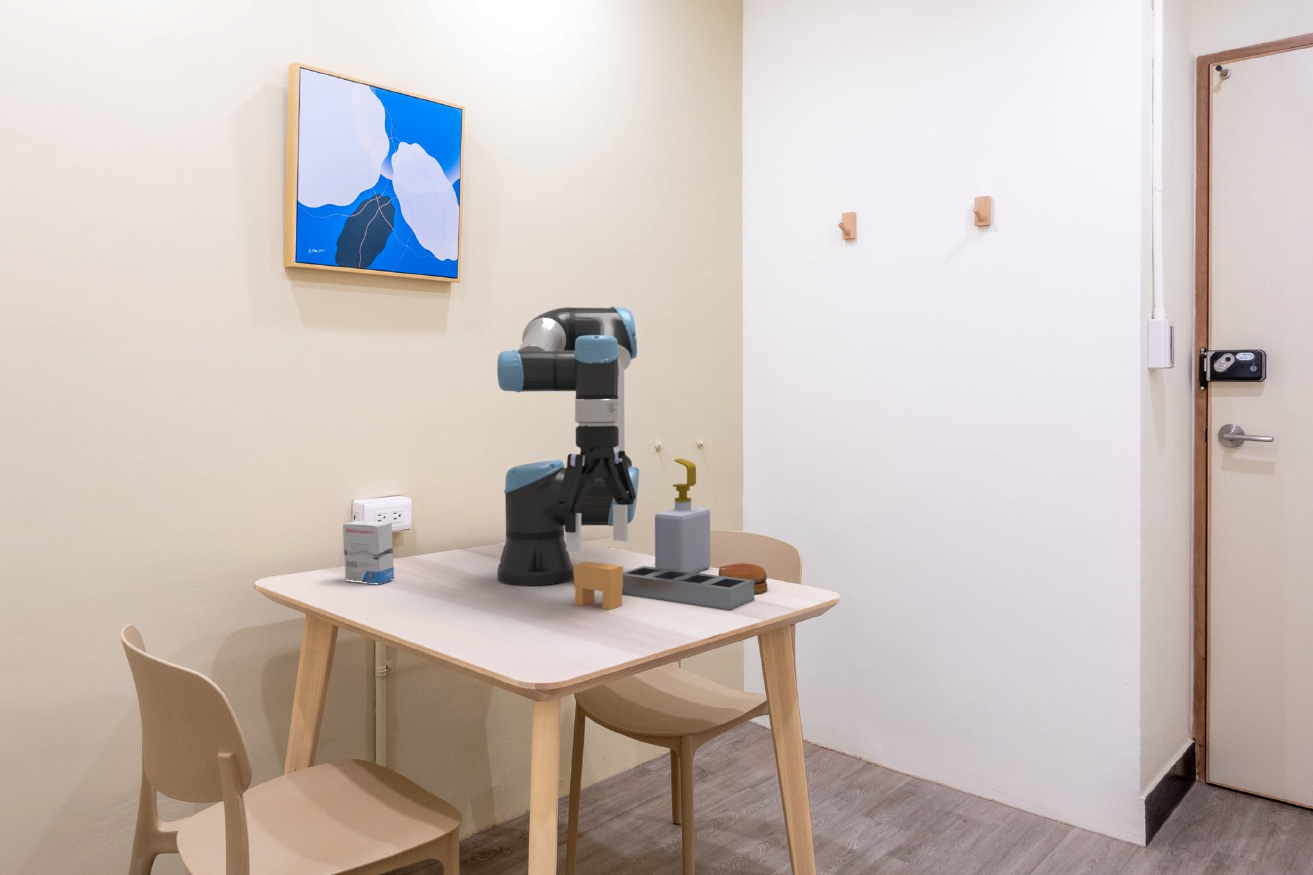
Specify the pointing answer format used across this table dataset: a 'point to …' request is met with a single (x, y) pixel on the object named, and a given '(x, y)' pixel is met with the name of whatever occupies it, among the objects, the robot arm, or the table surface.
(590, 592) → the orange bridge block
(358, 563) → the ink box
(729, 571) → the burger
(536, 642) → the table surface
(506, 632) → the table surface
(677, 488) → the soap bottle
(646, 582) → the grey compartment tray
